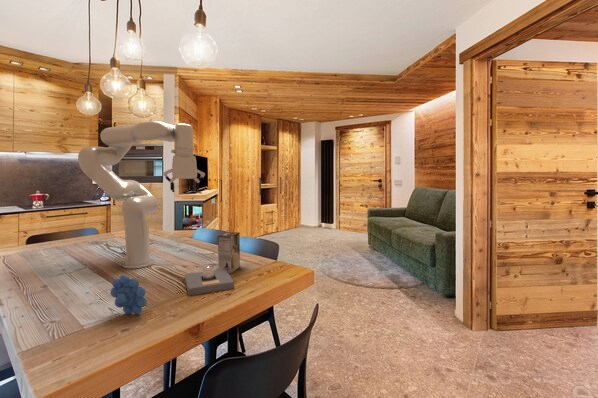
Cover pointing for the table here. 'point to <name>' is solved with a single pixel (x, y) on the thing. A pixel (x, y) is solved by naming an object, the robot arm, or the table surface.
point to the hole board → (208, 282)
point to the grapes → (128, 294)
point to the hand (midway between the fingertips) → (185, 191)
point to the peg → (208, 272)
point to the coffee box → (229, 251)
